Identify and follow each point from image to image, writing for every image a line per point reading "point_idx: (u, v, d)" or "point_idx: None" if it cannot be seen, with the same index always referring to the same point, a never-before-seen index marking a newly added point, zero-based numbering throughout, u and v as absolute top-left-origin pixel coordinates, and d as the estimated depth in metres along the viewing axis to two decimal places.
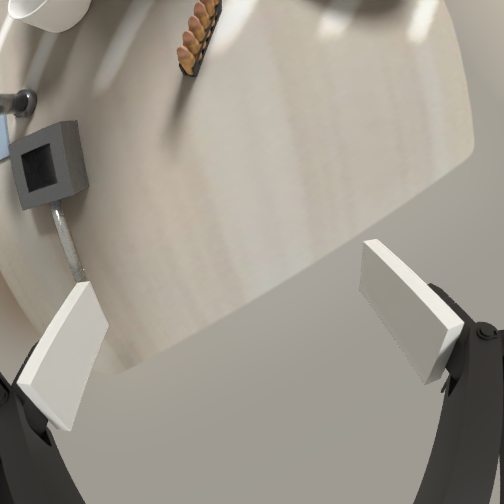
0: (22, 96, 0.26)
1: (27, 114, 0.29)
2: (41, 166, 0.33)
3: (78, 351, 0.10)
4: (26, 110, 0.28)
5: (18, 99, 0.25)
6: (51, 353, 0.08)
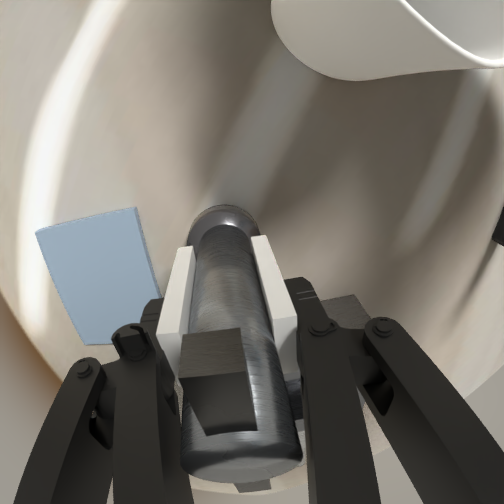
0: (248, 243, 0.15)
1: None
2: None
3: None
4: None
5: None
6: (184, 304, 0.10)
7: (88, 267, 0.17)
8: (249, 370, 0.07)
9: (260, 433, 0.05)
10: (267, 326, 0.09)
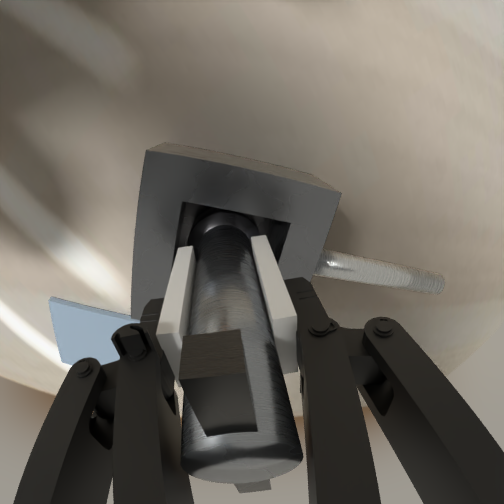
0: (248, 244, 0.15)
1: None
2: None
3: None
4: None
5: None
6: (184, 304, 0.10)
7: (84, 345, 0.23)
8: (249, 371, 0.07)
9: (260, 434, 0.05)
10: (267, 327, 0.09)
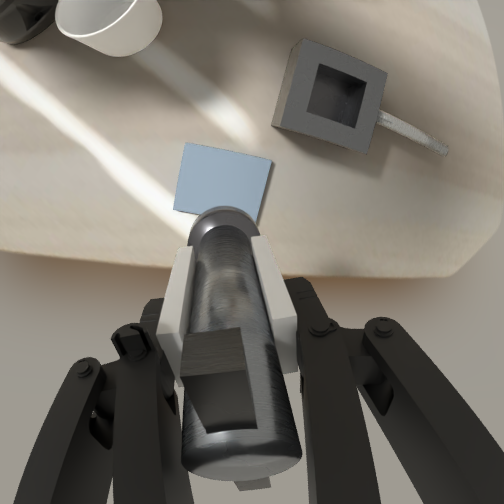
0: (248, 244, 0.16)
1: None
2: (319, 114, 0.30)
3: None
4: None
5: None
6: (184, 304, 0.10)
7: (205, 185, 0.33)
8: (249, 369, 0.07)
9: (260, 431, 0.05)
10: (267, 326, 0.09)
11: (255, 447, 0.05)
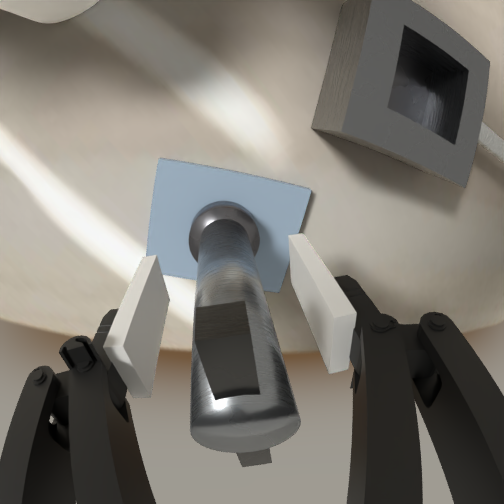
0: (246, 236, 0.17)
1: None
2: None
3: (153, 319, 0.12)
4: None
5: None
6: (136, 317, 0.10)
7: None
8: None
9: (262, 396, 0.06)
10: (266, 308, 0.10)
11: (258, 413, 0.06)
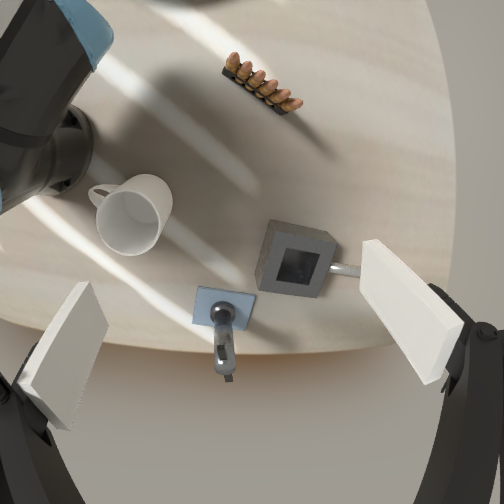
0: (229, 316, 0.49)
1: None
2: (287, 267, 0.49)
3: (78, 351, 0.10)
4: None
5: (231, 323, 0.48)
6: (51, 353, 0.08)
7: None
8: (226, 351, 0.40)
9: (227, 360, 0.38)
10: (231, 342, 0.43)
11: (227, 363, 0.38)
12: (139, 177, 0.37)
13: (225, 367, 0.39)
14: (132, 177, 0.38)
